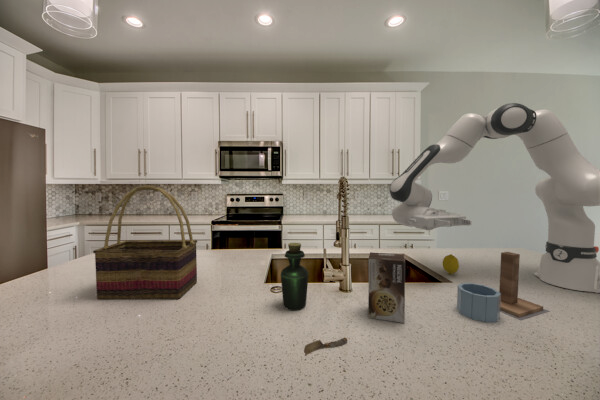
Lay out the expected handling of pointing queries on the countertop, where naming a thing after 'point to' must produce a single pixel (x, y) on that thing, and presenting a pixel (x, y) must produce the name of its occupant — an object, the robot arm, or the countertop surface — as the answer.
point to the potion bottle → (294, 279)
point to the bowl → (478, 302)
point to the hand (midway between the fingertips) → (460, 223)
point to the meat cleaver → (322, 345)
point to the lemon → (450, 264)
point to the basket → (146, 262)
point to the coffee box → (386, 287)
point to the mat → (527, 315)
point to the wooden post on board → (513, 288)
